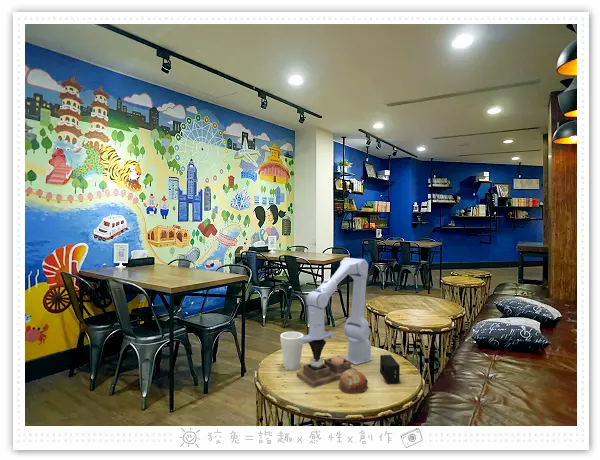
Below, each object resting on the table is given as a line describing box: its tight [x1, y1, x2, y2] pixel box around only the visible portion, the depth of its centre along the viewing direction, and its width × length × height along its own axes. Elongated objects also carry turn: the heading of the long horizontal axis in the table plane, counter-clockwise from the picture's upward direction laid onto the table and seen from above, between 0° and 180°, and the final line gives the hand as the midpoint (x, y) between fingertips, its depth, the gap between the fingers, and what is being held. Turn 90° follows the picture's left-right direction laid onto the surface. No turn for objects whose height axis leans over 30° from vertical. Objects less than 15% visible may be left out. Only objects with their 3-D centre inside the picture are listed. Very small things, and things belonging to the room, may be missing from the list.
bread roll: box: [338, 369, 369, 394], centre depth 127 cm, size 10×10×8 cm
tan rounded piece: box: [330, 356, 344, 365], centre depth 139 cm, size 5×5×3 cm
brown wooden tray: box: [296, 355, 358, 389], centre depth 137 cm, size 21×11×4 cm, turn 123°
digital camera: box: [379, 354, 401, 385], centre depth 135 cm, size 10×5×7 cm, turn 4°
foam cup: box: [279, 331, 305, 371], centre depth 144 cm, size 10×9×13 cm
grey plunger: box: [309, 357, 324, 370], centre depth 134 cm, size 5×5×3 cm
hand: (316, 359), depth 134 cm, fingers closed
